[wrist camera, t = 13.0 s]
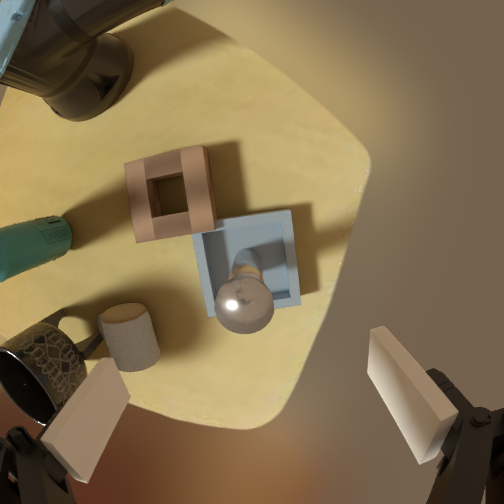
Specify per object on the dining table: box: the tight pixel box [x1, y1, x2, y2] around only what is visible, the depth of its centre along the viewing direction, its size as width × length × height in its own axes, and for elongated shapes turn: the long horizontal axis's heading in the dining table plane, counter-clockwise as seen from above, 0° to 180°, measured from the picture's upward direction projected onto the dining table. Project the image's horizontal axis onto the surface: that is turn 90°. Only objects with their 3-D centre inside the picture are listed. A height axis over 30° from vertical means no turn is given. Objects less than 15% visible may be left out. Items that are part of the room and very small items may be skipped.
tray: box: [192, 209, 301, 317], centre depth 35 cm, size 12×12×3 cm
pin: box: [215, 249, 274, 334], centre depth 28 cm, size 5×5×15 cm
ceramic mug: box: [98, 303, 161, 372], centre depth 35 cm, size 11×8×8 cm
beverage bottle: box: [0, 215, 72, 282], centre depth 26 cm, size 6×7×20 cm
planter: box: [0, 309, 104, 426], centre depth 30 cm, size 13×13×18 cm
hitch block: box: [124, 145, 218, 243], centre depth 32 cm, size 10×10×4 cm
